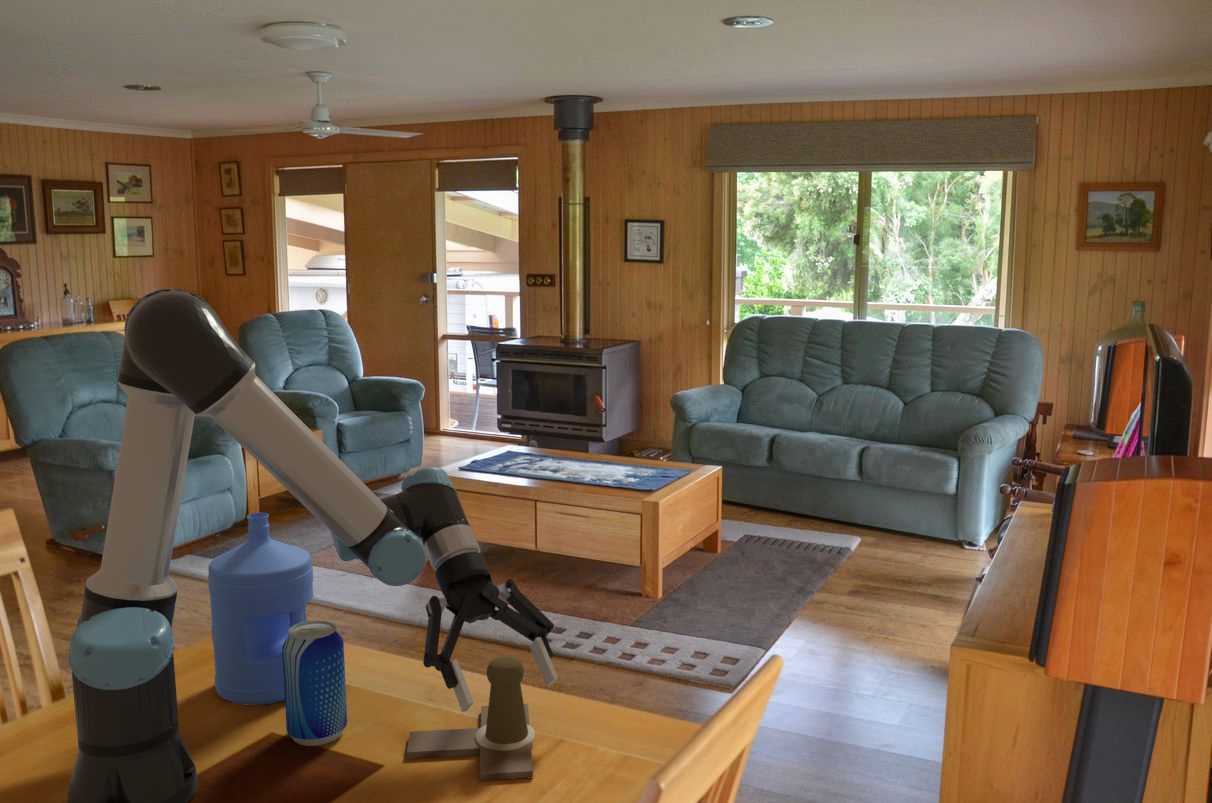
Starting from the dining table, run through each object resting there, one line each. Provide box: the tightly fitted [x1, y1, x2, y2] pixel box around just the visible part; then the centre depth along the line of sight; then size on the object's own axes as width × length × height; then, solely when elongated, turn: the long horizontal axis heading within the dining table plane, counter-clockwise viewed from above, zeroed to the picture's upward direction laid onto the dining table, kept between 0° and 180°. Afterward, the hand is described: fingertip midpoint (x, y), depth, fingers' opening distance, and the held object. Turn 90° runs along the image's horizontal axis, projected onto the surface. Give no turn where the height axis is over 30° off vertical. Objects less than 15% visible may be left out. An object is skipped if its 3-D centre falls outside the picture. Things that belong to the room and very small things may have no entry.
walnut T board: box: [406, 703, 536, 782], centre depth 147 cm, size 18×20×1 cm
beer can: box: [282, 619, 348, 747], centre depth 149 cm, size 8×8×16 cm
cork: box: [485, 656, 528, 744], centre depth 146 cm, size 6×6×11 cm
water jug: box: [207, 512, 314, 706], centre depth 164 cm, size 16×16×28 cm
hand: (511, 694), depth 145 cm, fingers open, 13 cm apart
